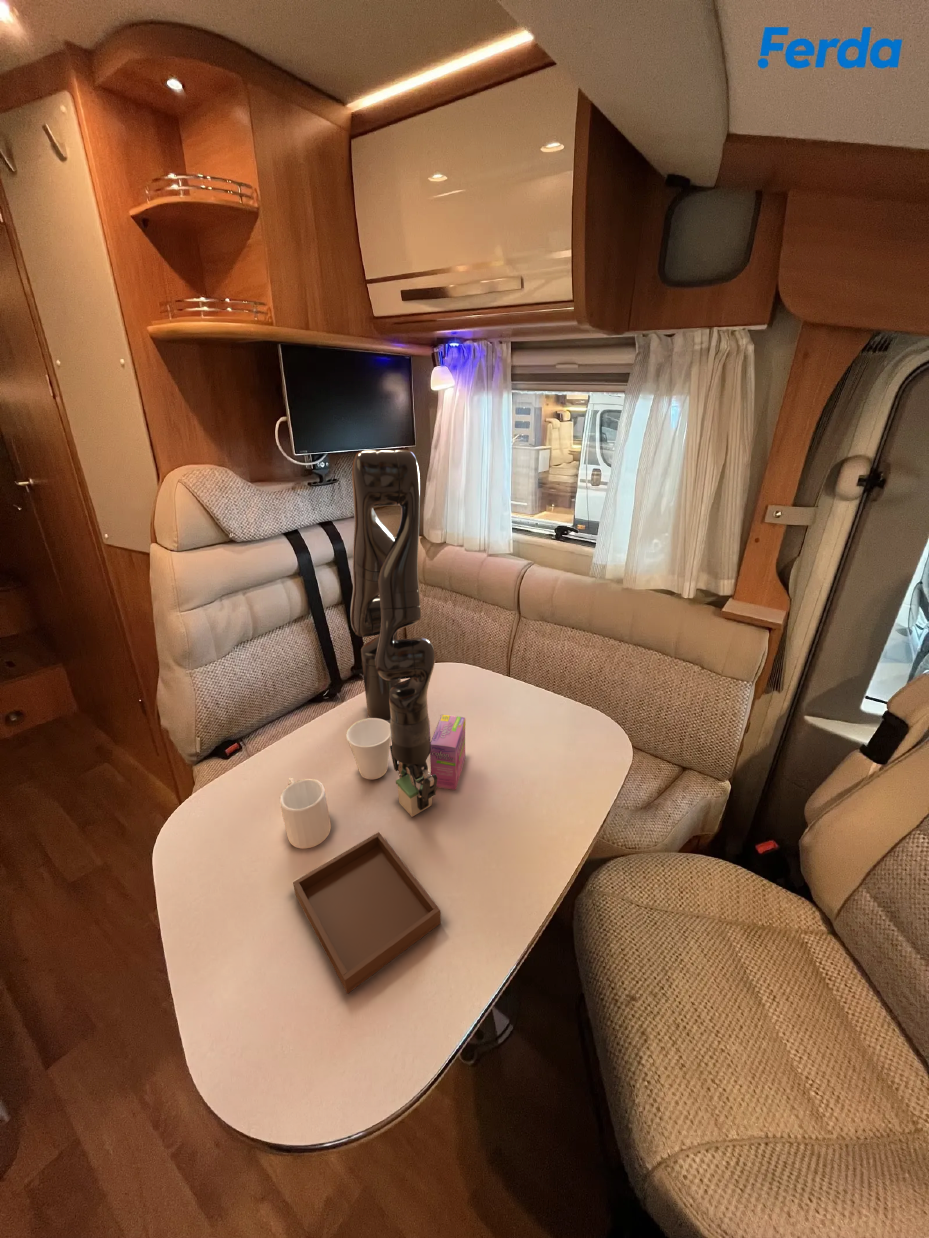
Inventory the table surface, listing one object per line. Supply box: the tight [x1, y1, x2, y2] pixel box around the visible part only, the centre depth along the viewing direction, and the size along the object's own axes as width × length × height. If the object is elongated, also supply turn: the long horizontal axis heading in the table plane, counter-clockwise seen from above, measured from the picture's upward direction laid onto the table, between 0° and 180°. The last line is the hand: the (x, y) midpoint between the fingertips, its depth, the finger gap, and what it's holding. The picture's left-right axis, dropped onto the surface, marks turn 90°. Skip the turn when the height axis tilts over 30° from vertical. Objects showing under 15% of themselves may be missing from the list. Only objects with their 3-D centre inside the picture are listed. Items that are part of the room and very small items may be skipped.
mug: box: [279, 777, 332, 849], centre depth 97 cm, size 8×12×10 cm
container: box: [395, 774, 433, 817], centre depth 102 cm, size 5×5×6 cm
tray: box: [292, 831, 442, 995], centre depth 82 cm, size 20×17×3 cm
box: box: [429, 714, 466, 791], centre depth 109 cm, size 10×6×12 cm, turn 168°
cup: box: [345, 717, 392, 780], centre depth 110 cm, size 10×10×11 cm
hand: (415, 798), depth 103 cm, fingers closed on container, 5 cm apart
